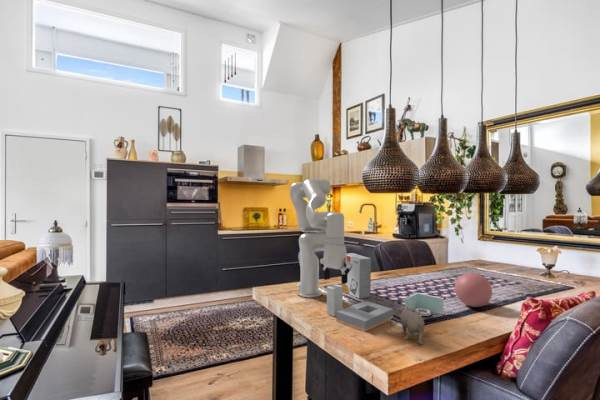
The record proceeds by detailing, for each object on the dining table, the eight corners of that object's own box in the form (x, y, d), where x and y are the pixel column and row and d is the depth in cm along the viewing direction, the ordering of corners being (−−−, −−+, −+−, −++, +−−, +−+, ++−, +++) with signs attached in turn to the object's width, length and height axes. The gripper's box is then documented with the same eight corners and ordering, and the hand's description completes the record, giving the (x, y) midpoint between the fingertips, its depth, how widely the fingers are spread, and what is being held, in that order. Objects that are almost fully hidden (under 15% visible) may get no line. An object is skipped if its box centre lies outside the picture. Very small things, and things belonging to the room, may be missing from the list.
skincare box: (335, 310, 147) (335, 284, 146) (342, 313, 144) (343, 285, 143) (326, 314, 142) (326, 286, 142) (333, 317, 139) (334, 288, 139)
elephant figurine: (401, 338, 113) (403, 296, 121) (397, 347, 124) (399, 307, 132) (425, 343, 111) (426, 300, 119) (419, 351, 122) (420, 311, 130)
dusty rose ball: (479, 298, 166) (480, 268, 165) (498, 312, 146) (498, 278, 145) (447, 297, 168) (447, 266, 167) (461, 310, 148) (461, 276, 147)
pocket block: (336, 321, 135) (336, 311, 134) (365, 309, 148) (365, 300, 148) (365, 331, 124) (365, 321, 124) (392, 318, 138) (393, 308, 138)
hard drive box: (341, 290, 177) (341, 253, 177) (352, 289, 180) (353, 252, 180) (358, 299, 163) (359, 259, 163) (371, 297, 167) (371, 257, 166)
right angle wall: (404, 315, 143) (405, 298, 143) (416, 308, 152) (416, 292, 152) (432, 323, 135) (433, 304, 135) (443, 315, 144) (443, 298, 144)
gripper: (314, 240, 146) (314, 279, 146) (345, 244, 133) (346, 286, 133) (326, 239, 151) (326, 276, 151) (357, 242, 139) (357, 283, 139)
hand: (335, 281), depth 142 cm, fingers open, 9 cm apart
